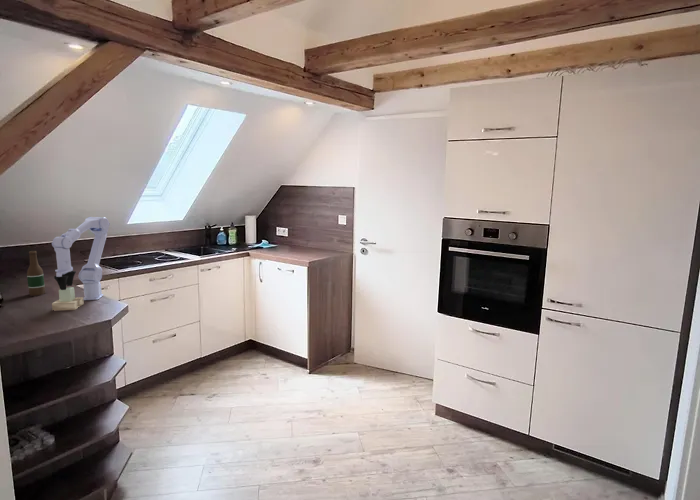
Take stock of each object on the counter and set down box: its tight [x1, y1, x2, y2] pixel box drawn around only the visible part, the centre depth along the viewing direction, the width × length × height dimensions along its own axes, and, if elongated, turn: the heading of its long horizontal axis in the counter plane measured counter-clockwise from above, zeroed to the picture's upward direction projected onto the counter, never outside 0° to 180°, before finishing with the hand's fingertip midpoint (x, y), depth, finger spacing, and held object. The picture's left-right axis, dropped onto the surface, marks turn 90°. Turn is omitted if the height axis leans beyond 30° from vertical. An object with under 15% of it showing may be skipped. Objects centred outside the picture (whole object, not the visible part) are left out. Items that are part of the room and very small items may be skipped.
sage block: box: [58, 286, 76, 302], centre depth 216 cm, size 5×5×6 cm
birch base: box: [51, 296, 85, 312], centre depth 217 cm, size 10×10×4 cm
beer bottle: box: [26, 250, 46, 297], centre depth 237 cm, size 8×8×24 cm
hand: (66, 287), depth 215 cm, fingers open, 7 cm apart
